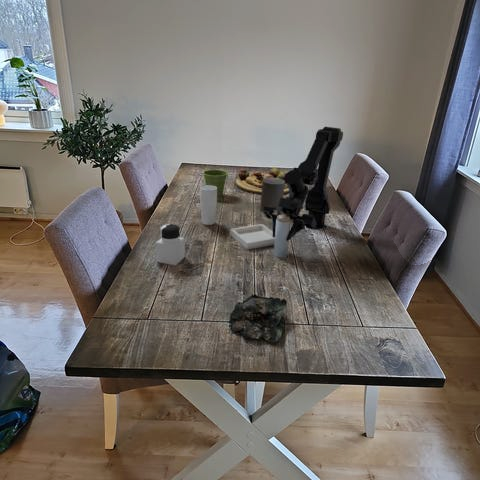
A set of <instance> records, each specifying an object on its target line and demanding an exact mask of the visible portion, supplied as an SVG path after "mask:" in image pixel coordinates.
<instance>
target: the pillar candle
mask: <svg viewBox="0 0 480 480" xmlns="http://www.w3.org/2000/svg"><path fill="white" fill-rule="evenodd" d="M284 184H285V181H284V180H282V179H279V178H264V179H263V182H262V194H261V195H260V196H261V198H260V211H261V212H262V209H263V207H264V206H266V205H269V206H273V207H275V208H276V210H277V211H279V212H282V210H281V209H280V208H281V207H278V204H279V200H280V197H282V198H284V195H285V194H284Z"/></svg>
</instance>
